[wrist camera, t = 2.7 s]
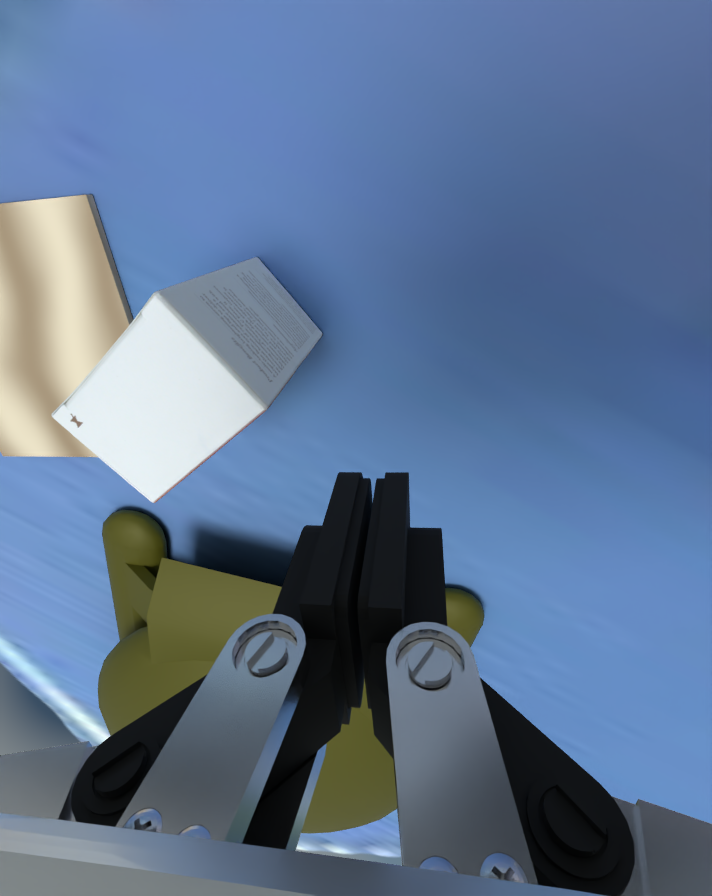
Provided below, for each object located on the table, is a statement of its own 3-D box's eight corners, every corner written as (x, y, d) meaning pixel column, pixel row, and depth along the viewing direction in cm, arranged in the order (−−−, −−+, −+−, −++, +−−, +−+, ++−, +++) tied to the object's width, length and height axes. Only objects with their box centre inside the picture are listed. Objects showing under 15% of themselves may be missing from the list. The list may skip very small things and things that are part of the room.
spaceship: (110, 494, 35) (8, 591, 27) (492, 587, 34) (512, 717, 26) (142, 721, 53) (88, 820, 45) (392, 785, 52) (384, 900, 44)
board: (92, 194, 23) (86, 194, 23) (177, 453, 31) (173, 457, 31) (-120, 216, 26) (-130, 217, 25) (8, 452, 34) (3, 456, 33)
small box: (238, 409, 29) (151, 509, 20) (172, 342, 27) (44, 418, 18) (327, 333, 25) (270, 412, 16) (258, 252, 24) (152, 290, 15)
